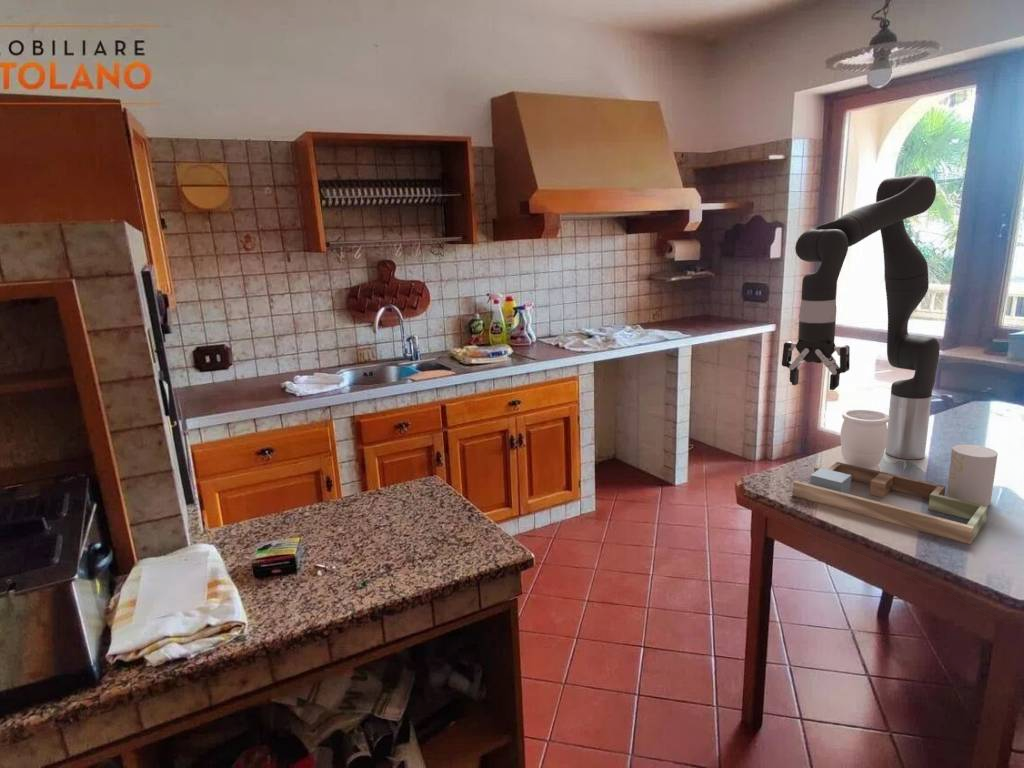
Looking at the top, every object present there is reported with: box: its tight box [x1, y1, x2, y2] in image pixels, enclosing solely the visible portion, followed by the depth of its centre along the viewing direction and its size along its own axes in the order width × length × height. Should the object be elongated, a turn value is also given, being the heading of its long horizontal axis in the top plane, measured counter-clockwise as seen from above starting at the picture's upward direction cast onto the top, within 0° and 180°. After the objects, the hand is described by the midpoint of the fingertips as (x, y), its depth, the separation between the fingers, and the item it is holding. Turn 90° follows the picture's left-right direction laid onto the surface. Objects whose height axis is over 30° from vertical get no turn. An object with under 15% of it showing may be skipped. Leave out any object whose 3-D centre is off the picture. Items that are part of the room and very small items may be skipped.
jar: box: [839, 409, 890, 472], centre depth 155 cm, size 11×10×15 cm
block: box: [809, 467, 852, 495], centre depth 143 cm, size 6×7×5 cm
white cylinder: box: [945, 443, 998, 507], centre depth 135 cm, size 8×8×12 cm
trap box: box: [792, 461, 989, 545], centre depth 137 cm, size 19×35×4 cm, turn 41°
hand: (813, 386), depth 140 cm, fingers open, 8 cm apart
